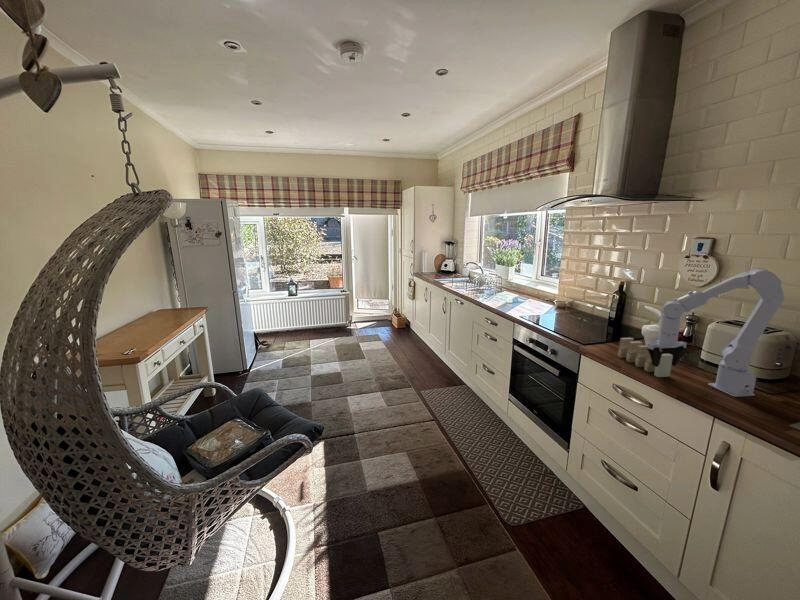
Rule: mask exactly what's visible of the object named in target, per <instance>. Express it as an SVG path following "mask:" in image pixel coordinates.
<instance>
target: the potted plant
mask: <svg viewBox="0 0 800 600" xmlns="http://www.w3.org/2000/svg"><path fill="white" fill-rule="evenodd" d="M665 301H666V300H665ZM670 301H671V298H669V299H668V300H667V301H666V302H665V303H667V302H670ZM644 309H646V310H648V311H650V312H651V313H652V314H653V315H654V317H657V318H658V319H659V320H658V323H657V324H655V323H654V324H645V325H642V326H641V327H642V328H641V335H642V336H643V339H644V343H645V345H648V343H653V342H657V340H659V333H660V326H661V320H662V319H663V318H662V316H663V308H662V310H660V309H656V307H655V308H654V307H651V306H647V305H644ZM662 349H663V348H659V350H662Z"/></svg>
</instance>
